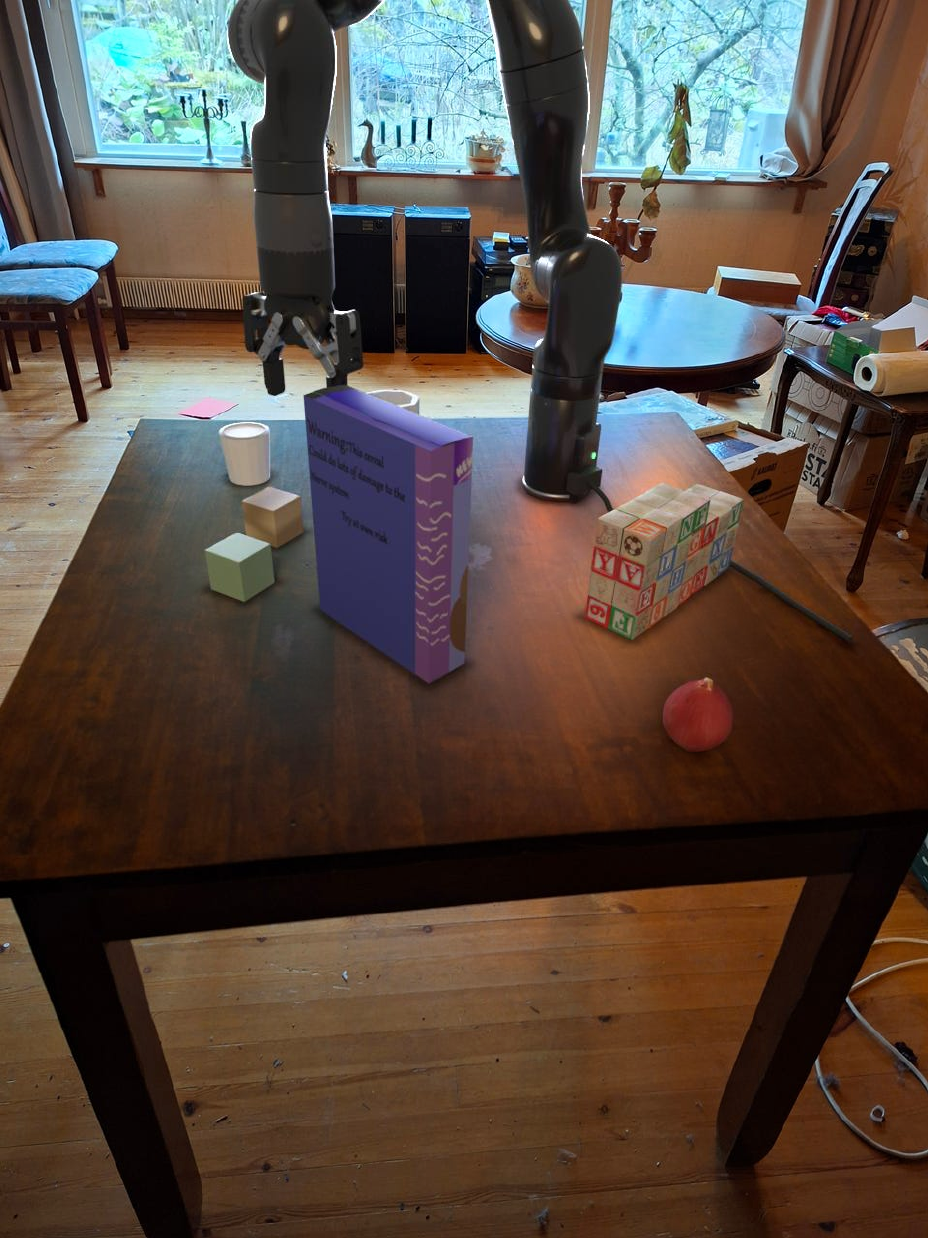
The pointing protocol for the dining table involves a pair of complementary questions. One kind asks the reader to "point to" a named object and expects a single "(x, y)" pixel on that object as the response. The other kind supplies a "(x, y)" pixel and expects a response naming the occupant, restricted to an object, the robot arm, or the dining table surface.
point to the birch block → (273, 516)
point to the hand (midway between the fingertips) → (306, 401)
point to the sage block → (240, 566)
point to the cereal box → (391, 526)
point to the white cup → (246, 452)
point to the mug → (398, 399)
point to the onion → (698, 716)
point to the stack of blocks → (659, 554)
